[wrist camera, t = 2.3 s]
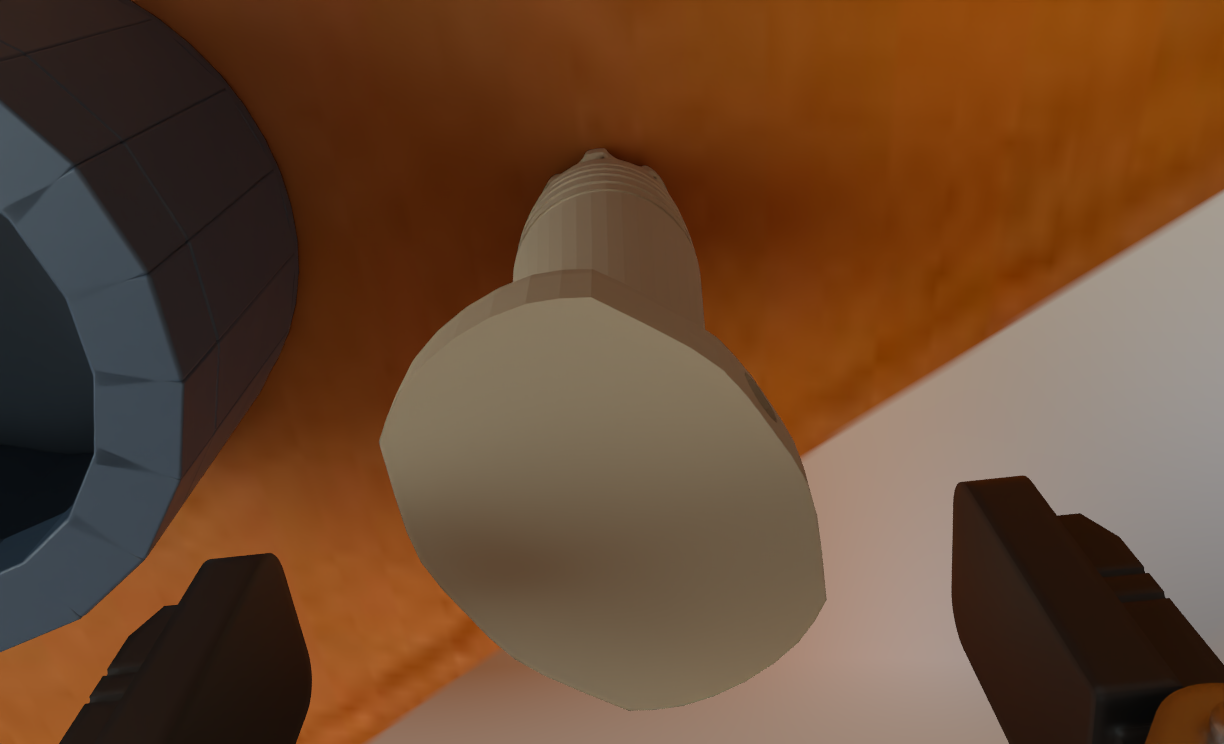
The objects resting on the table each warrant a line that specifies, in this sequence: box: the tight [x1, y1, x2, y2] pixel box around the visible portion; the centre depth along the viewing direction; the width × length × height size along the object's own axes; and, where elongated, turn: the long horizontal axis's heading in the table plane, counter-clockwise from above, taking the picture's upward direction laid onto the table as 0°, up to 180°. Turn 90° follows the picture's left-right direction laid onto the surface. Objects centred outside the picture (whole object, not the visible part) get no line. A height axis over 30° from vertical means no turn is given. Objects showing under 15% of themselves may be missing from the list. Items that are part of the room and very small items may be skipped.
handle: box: [379, 148, 826, 711], centre depth 20 cm, size 5×6×15 cm
